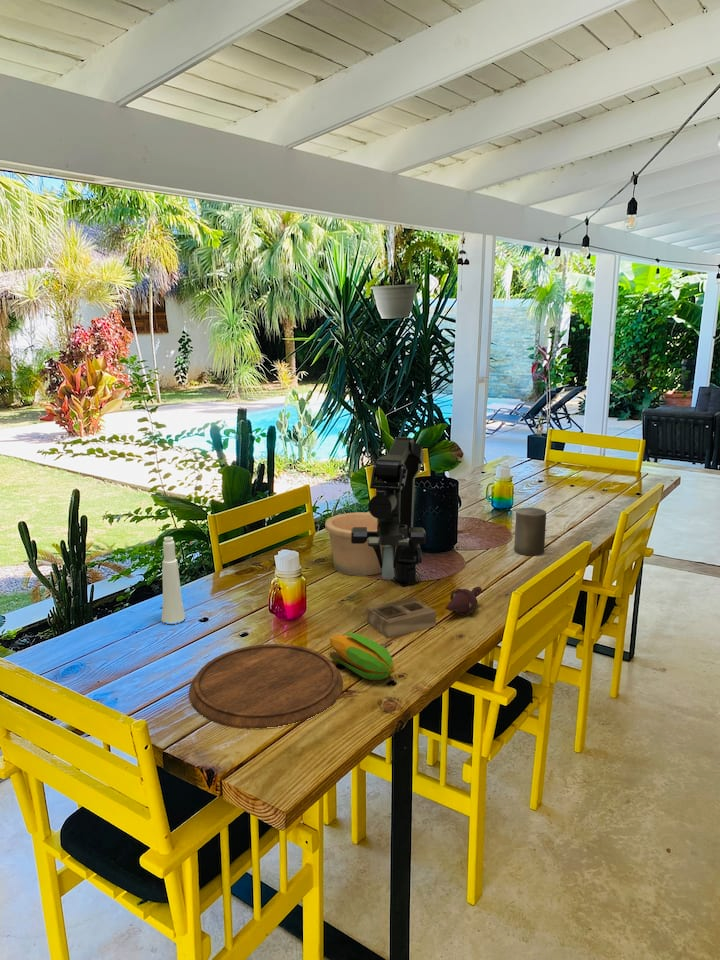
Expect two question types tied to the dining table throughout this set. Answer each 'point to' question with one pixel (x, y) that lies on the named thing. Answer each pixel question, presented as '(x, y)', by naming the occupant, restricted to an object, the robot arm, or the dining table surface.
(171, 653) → the dining table surface
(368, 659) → the corn
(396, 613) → the socket block
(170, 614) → the cosmetic bottle
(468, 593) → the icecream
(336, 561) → the pottery
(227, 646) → the dining table surface
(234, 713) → the cutting board
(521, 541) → the pillar candle
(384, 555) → the dowel
